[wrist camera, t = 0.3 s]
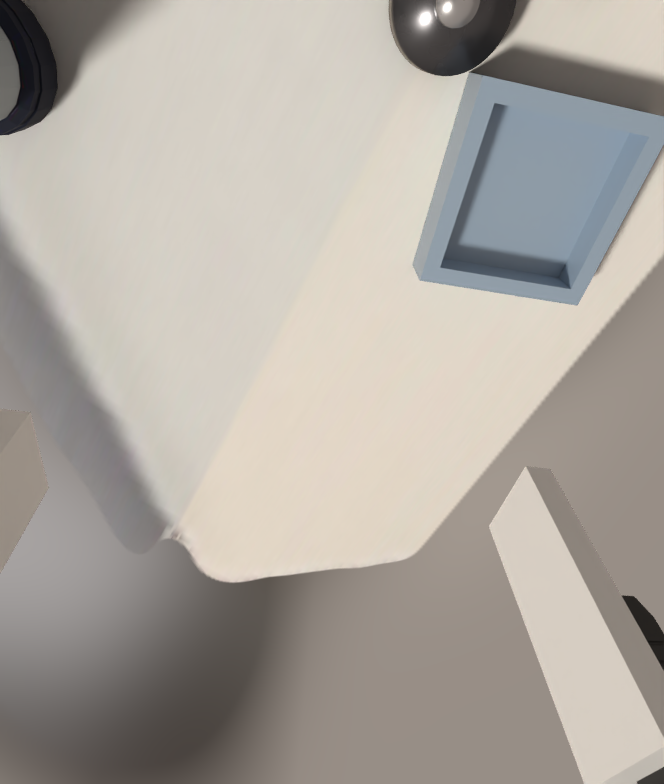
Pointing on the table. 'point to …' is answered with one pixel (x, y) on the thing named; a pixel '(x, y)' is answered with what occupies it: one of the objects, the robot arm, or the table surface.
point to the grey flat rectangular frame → (448, 32)
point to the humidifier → (24, 69)
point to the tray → (533, 190)
